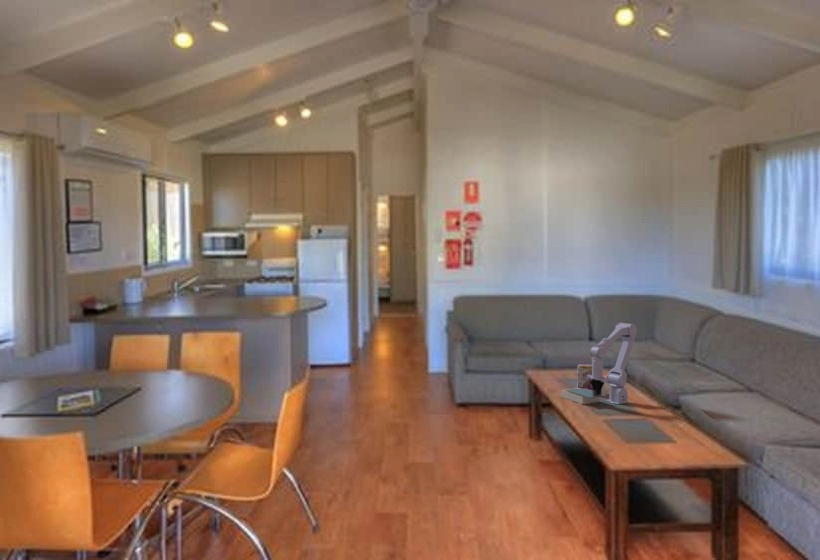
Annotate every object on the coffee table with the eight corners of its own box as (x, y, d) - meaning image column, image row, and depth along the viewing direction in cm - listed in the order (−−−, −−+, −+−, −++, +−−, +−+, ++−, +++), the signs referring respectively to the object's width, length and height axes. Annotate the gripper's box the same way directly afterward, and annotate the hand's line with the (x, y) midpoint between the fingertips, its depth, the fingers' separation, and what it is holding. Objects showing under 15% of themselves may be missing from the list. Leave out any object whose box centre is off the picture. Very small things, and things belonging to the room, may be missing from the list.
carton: (599, 402, 378) (599, 394, 377) (582, 404, 372) (582, 396, 372) (578, 395, 394) (578, 387, 393) (561, 397, 389) (561, 390, 388)
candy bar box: (578, 393, 398) (578, 365, 397) (576, 391, 403) (577, 364, 402) (597, 394, 397) (598, 366, 396) (596, 392, 402) (596, 364, 401)
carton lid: (606, 395, 372) (607, 389, 372) (589, 398, 367) (589, 391, 367) (584, 389, 388) (585, 383, 388) (568, 391, 383) (568, 385, 383)
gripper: (582, 367, 374) (582, 391, 375) (600, 372, 361) (600, 397, 362) (592, 366, 377) (592, 390, 378) (611, 370, 364) (610, 396, 365)
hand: (597, 393), depth 370 cm, fingers closed on carton lid
